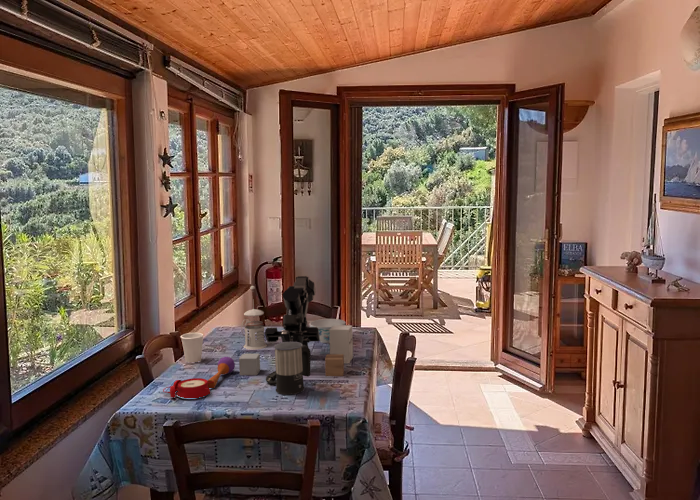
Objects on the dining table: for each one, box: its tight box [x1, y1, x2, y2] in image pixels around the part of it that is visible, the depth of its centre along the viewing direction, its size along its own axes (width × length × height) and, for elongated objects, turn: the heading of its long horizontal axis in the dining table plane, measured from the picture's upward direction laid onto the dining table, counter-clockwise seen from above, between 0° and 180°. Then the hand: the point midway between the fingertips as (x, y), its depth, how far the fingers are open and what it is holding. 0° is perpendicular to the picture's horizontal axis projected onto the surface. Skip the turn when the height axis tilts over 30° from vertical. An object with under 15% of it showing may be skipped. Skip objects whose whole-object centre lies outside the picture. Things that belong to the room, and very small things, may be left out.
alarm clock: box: [162, 377, 214, 398], centre depth 194 cm, size 10×6×15 cm
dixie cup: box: [180, 332, 204, 363], centre depth 230 cm, size 8×8×10 cm
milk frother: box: [265, 341, 312, 395], centre depth 198 cm, size 14×16×15 cm
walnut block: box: [324, 353, 345, 377], centre depth 211 cm, size 6×6×6 cm
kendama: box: [206, 356, 236, 389], centre depth 208 cm, size 6×6×20 cm
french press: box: [240, 285, 268, 351], centre depth 248 cm, size 10×12×25 cm
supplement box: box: [329, 324, 354, 364], centre depth 226 cm, size 7×7×13 cm
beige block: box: [238, 353, 261, 376], centre depth 215 cm, size 6×6×6 cm
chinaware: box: [308, 318, 346, 344], centre depth 255 cm, size 15×15×8 cm
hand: (290, 355), depth 211 cm, fingers closed
